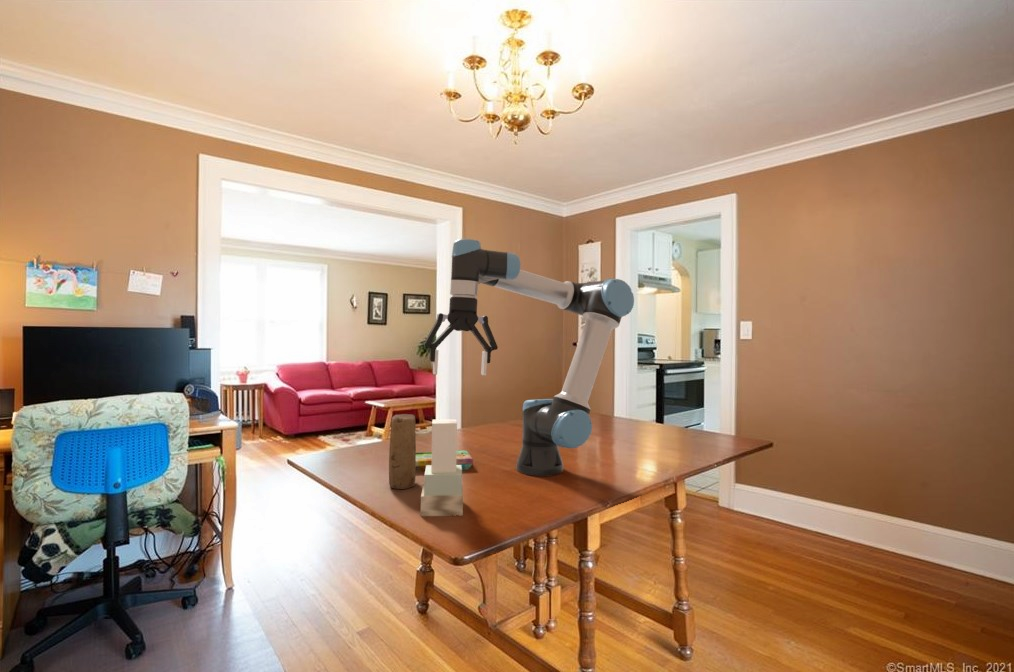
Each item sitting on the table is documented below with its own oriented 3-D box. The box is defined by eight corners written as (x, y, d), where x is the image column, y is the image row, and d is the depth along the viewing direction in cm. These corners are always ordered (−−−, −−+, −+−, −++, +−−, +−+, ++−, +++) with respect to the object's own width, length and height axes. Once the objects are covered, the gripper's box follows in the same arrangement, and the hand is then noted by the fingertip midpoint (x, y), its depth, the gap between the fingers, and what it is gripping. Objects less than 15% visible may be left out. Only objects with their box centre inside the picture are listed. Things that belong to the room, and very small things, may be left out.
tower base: (461, 502, 129) (462, 483, 129) (462, 516, 119) (463, 495, 119) (423, 503, 128) (423, 484, 128) (420, 517, 118) (420, 496, 118)
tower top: (460, 484, 129) (461, 464, 129) (461, 495, 120) (462, 474, 120) (425, 484, 128) (426, 465, 128) (424, 495, 119) (424, 474, 119)
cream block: (455, 466, 127) (456, 419, 127) (456, 472, 121) (456, 423, 121) (431, 466, 126) (432, 419, 126) (431, 473, 120) (432, 423, 121)
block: (415, 489, 138) (416, 418, 138) (387, 491, 137) (389, 418, 137) (415, 478, 149) (416, 412, 149) (389, 479, 148) (390, 412, 148)
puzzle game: (473, 456, 160) (410, 459, 155) (472, 471, 160) (409, 474, 155) (467, 448, 171) (408, 450, 167) (466, 462, 171) (407, 464, 167)
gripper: (503, 300, 143) (498, 373, 143) (415, 294, 135) (411, 371, 136) (511, 299, 136) (507, 377, 136) (419, 293, 128) (415, 375, 129)
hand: (459, 374), depth 136 cm, fingers open, 13 cm apart
